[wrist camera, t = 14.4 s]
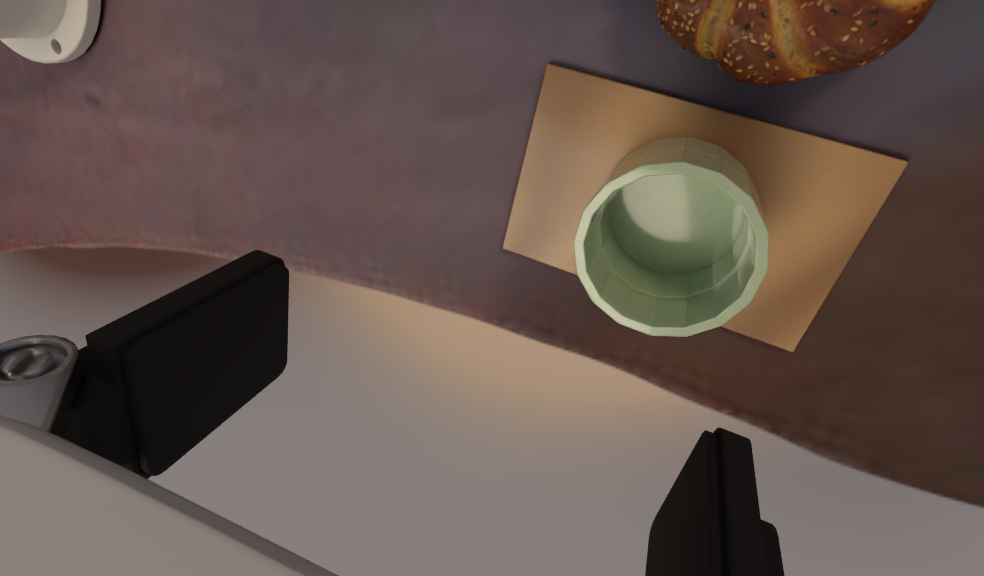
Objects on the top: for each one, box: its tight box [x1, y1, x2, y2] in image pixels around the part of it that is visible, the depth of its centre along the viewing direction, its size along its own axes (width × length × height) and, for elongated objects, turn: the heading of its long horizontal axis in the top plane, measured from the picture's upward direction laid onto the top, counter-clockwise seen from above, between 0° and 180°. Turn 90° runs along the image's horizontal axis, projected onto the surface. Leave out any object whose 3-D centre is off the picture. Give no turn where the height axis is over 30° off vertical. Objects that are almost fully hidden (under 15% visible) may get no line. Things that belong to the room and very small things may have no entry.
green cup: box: [573, 137, 769, 337], centre depth 24 cm, size 7×7×6 cm
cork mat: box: [502, 63, 908, 352], centre depth 26 cm, size 16×10×1 cm, turn 78°
